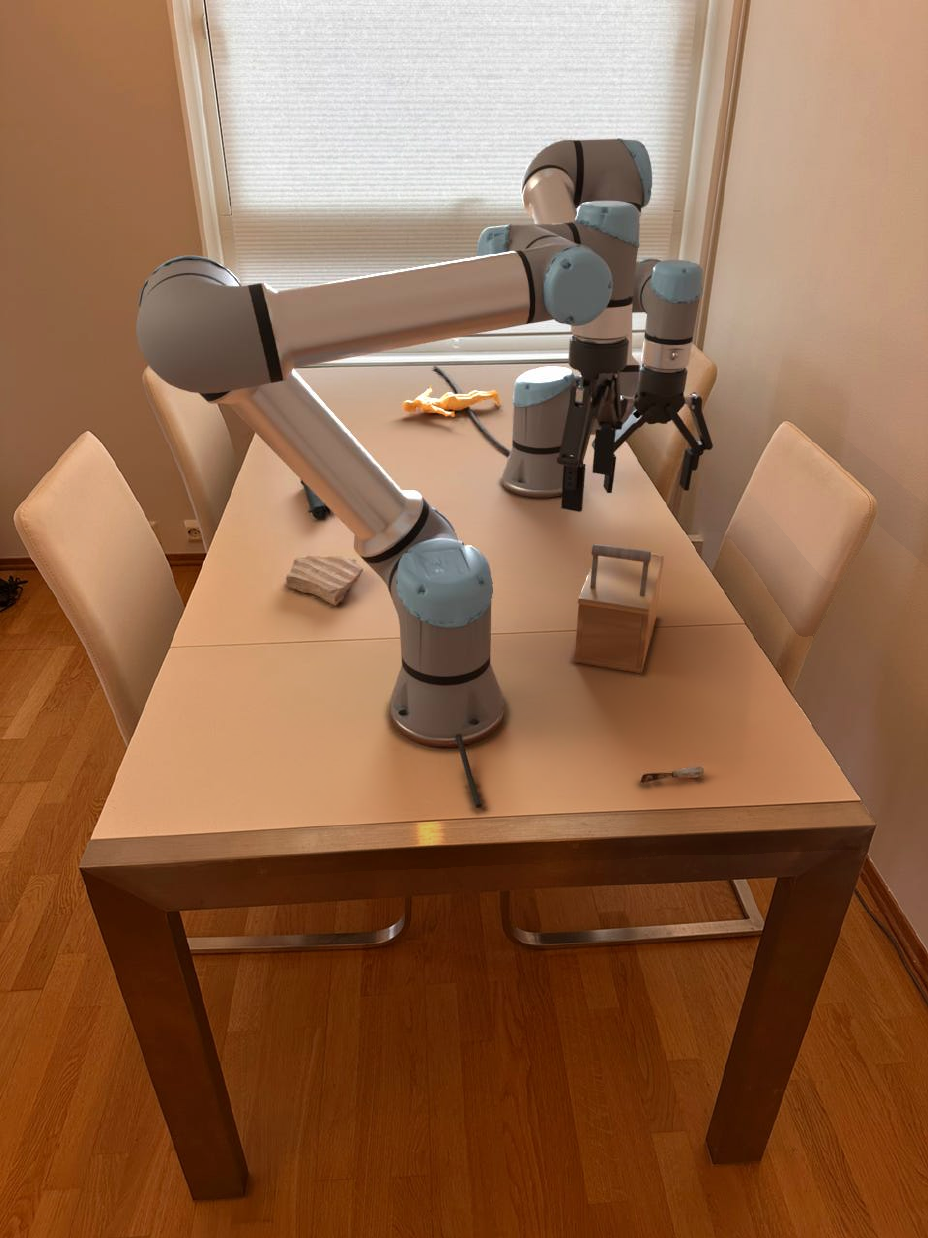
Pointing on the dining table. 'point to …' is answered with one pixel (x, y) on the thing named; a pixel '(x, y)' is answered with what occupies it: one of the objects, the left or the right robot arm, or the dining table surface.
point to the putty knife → (674, 774)
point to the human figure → (448, 402)
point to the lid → (621, 579)
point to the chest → (615, 636)
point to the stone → (323, 576)
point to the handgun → (315, 503)
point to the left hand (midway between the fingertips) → (587, 490)
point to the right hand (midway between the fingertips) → (645, 488)
